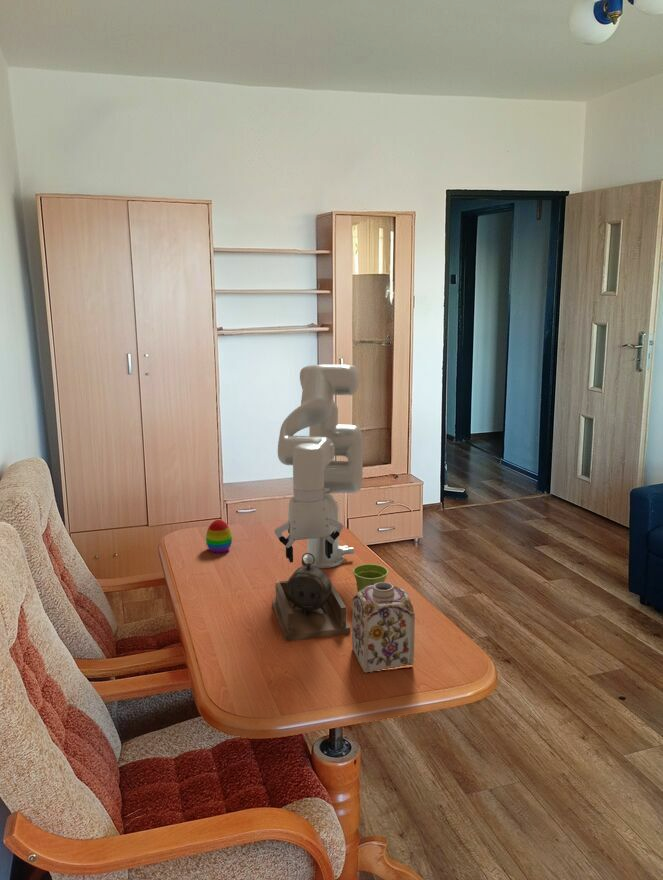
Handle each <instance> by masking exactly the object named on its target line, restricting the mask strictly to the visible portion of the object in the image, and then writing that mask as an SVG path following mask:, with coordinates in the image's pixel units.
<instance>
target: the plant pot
mask: <svg viewBox="0 0 663 880" xmlns="http://www.w3.org/2000/svg"><path fill="white" fill-rule="evenodd" d="M352 573H353V575H354V578H355V581H356V590H357V593H358V592H359V591H360V590H362V589H363V588H365V587H367V586H370V585H374V584H376V583H379V582H386V579H387V576H388V575H389V570H388V568H387V567H385V566H384V565H380V564H376V563H364V564H360V565H357V566H355V567H353V569H352Z"/></svg>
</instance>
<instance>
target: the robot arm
mask: <svg viewBox="0 0 663 880" xmlns="http://www.w3.org/2000/svg"><path fill="white" fill-rule="evenodd" d="M359 372H360V371H359V369H358V368H357V366H355V365H354V364H353V365H351V364H312V365H307V366H303V367H302V369H301V370H300V372H299V382H300V385H301V390H302V391H301V393H302V394H301V400H300V405H299V406H298V407H297V408H295V409H293V410H292V411H291V412H290V413H289V414H288V415H287V417H286V418H285V419H284V421H283V422H282V424H281V426H280V430H279V437H278V442H277V443H278V444H277V458H278V460H279V462H280V463H281V464H283V465H285V466H292V484H293V485H292V489H293V491H292V492H293V495H292V496H293V497H290V499H289V502H288V503H289V504H288V512H287V522H285V523H283V524H281V525H280V526H278V527H276V528H275V529H274V535H276V537H277V539H278V540H279V542H280V543H282V545H283V546H285V558H286V559H287V560H288V561H289V562H290V564H291V563H294V547H293V546H292V545H293V544H294V543H295V541H299V540H306V541H307V542H306V543H307V544H306V545H307V546H306V547H307V552H306V553H311V554H312V555H313V556H314V558H315V561H314V559H313V557H312V556H311V555H310V554H306V555H304V554H303V555H304V557H303V561H304V562H305V563H306V564H307V563H310V564H312V563H313V561H314V563H313V564H312V565H310V566H314V567H317V568H319V569H331V567H332V568H336V567H338V566H340V565H341V564H343V562H344V556H345V555H353V554H355V550H354V547H348V545H343V546H341V545H340V544H339V537H340V533H341V532H342V530H343V528H344V524H342V522H339V504H338V502H337V500H336V499H335V497H334V496H333V494H354V493H358V492H359V491H360V490H361V488H362V485H363V473H364V471H363V468H364V467H363V466H364V465H363V457H364V455H363V452H364V451H363V449H364V448H363V447H364V445H363V444H364V443H363V442H364V441H363V439H364V438H363V434H362V433H363V432H362V430H361V429H360V427H359V426H357V425H355V424H354V425H353V424H340V423H339V422H338V421H339V408H338V405H337V403H336V402H335V400H334V396H354V395H355V394H356V393H357V392H358V389H359V386H360V373H359ZM306 428H309V435H295V434H296V433H298V432H300V431H302V430H305V429H306ZM335 457H345V458H346V459H347V460H334V458H335ZM285 531H287V532H288V535H287V536H286V537H285V536H283V533H284V532H285ZM303 561H302V562H303ZM306 564H305V565H306Z"/></svg>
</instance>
